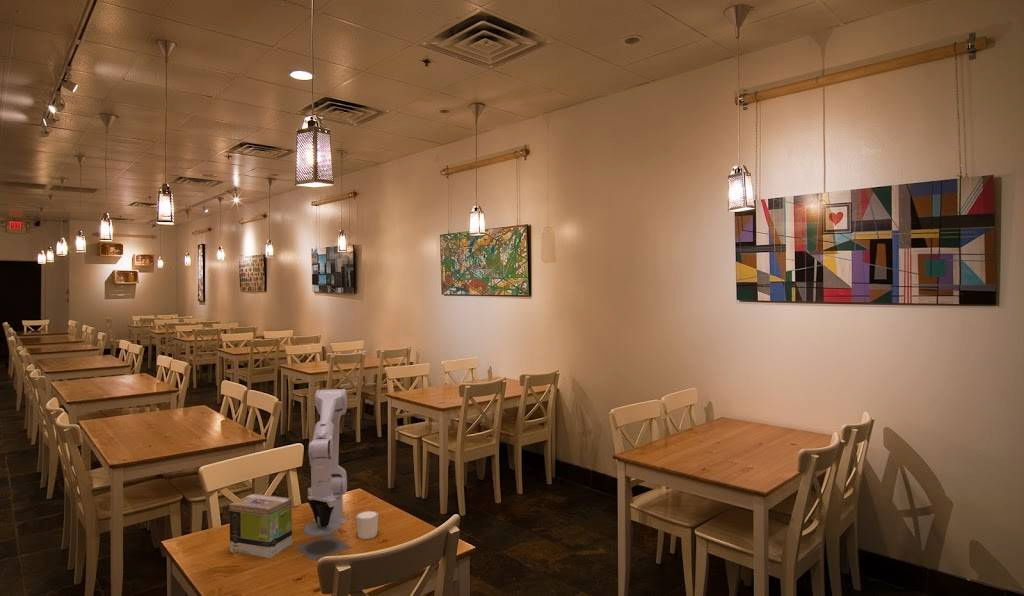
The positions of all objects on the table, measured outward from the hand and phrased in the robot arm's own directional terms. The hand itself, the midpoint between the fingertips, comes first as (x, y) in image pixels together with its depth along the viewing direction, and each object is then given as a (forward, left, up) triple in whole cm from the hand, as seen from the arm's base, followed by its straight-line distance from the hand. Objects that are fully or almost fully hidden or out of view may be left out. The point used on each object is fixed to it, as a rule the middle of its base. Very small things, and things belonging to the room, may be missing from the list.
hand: (322, 524), depth 172 cm
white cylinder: (+2, +14, -8) cm, 16 cm away
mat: (0, 0, -8) cm, 8 cm away
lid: (0, 0, -2) cm, 2 cm away
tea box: (-13, -13, -8) cm, 20 cm away
